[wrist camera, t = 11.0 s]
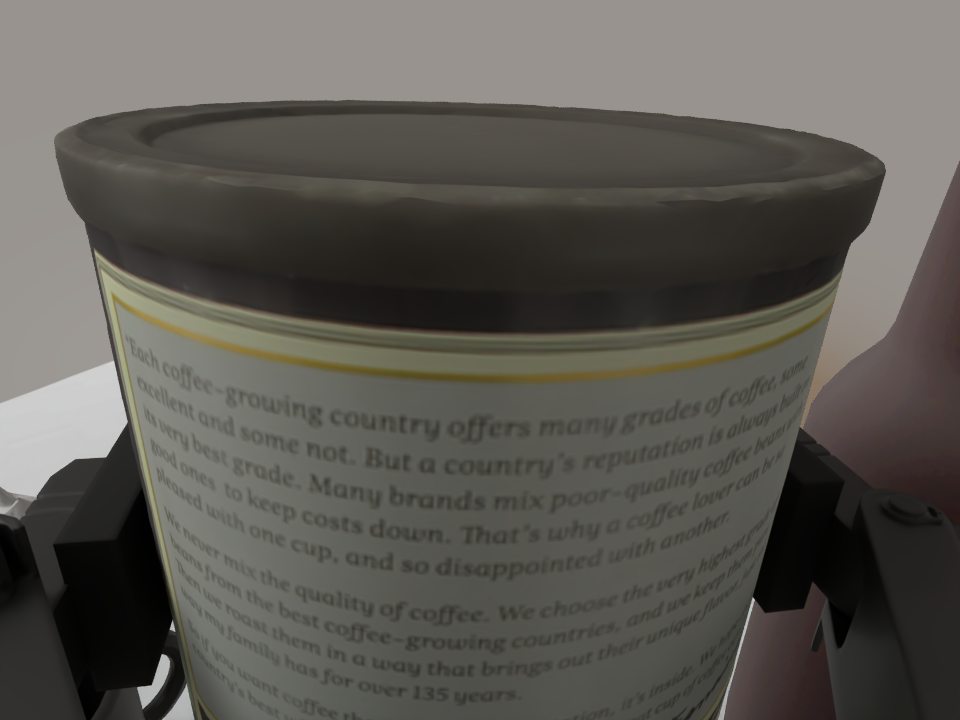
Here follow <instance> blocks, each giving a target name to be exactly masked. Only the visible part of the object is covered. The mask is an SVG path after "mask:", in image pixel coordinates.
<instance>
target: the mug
mask: <svg viewBox="0 0 960 720" xmlns="http://www.w3.org/2000/svg"><path fill="white" fill-rule="evenodd" d="M162 654H164V655H167V657H168V658H169V660H170V668H169V672H168V676H167V678H166V680H165V683H164V684H163V686H162V688H161V689H160V691H159V692H158V694H157V695H156V696H155V698H154V699H153V700H152V701H151V702H150V703H149V704H148V705H147V706H146V707H145V708H144V709H142V705H141V701H140V697H139V694H138V690H137V687H133V688H124V689H116V690H107V691H99V692H96V689H95V686H94V682H93V679H92V675H91V672H90V669H89V665H88V667H87V669H86V672H85V674H84V676H83V678H82V681H81V683H80V685H79V688H78V690H77V692H78V695H79V699H80V702H81V705H82V708H83V711H84V714H85V717H86V720H162V719H163V718H164V717H165V716H166V715H167V714H168V713H169V711H170V710H171V709H172V708H173V706H174V705H175V703H176V702H177V700H178V699H179V697H180V696H181V694H182V692H183V690H184V688H185V686H186V683H187V682H186V678H185V673H184V668H183V664H182V659H181V654H180V650H179V645H178V640H177V636H176V632H174V631H172V630H169V633H168V636H167V639H166V642H165V645H164V648H163V651H162Z"/></svg>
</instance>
